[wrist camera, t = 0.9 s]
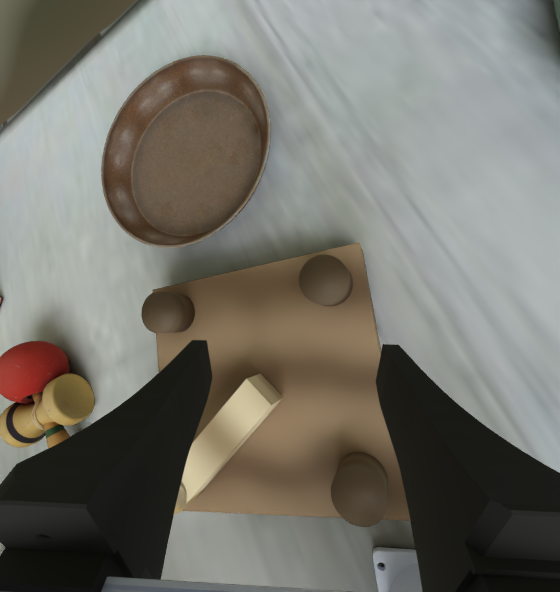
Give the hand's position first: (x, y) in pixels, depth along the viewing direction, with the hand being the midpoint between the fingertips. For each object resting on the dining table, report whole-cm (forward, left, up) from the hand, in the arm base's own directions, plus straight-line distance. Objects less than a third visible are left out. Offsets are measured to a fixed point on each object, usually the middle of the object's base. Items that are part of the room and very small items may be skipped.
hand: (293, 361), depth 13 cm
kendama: (-4, +28, -12) cm, 31 cm away
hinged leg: (-6, +9, -9) cm, 14 cm away
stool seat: (-2, +6, -12) cm, 14 cm away
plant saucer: (+19, +11, -13) cm, 25 cm away
